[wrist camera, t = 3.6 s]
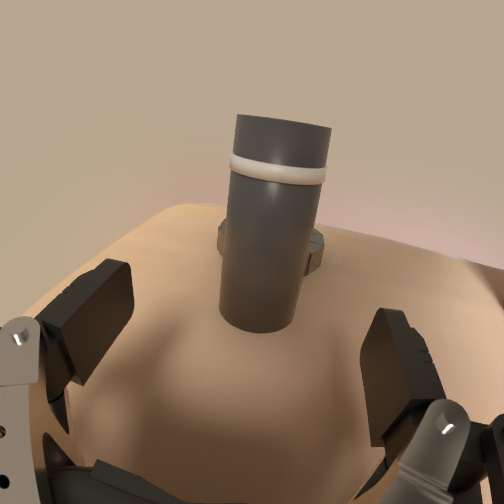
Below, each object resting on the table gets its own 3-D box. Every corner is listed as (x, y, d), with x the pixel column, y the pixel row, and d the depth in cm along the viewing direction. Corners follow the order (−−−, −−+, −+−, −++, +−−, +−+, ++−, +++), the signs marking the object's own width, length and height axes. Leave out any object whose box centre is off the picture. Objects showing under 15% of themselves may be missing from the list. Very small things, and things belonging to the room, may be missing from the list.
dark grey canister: (295, 293, 22) (328, 127, 17) (293, 340, 17) (340, 130, 12) (226, 281, 22) (244, 114, 17) (208, 324, 18) (224, 113, 12)
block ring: (316, 239, 32) (320, 222, 31) (321, 286, 23) (327, 264, 22) (230, 225, 33) (232, 207, 32) (206, 265, 24) (207, 243, 23)
